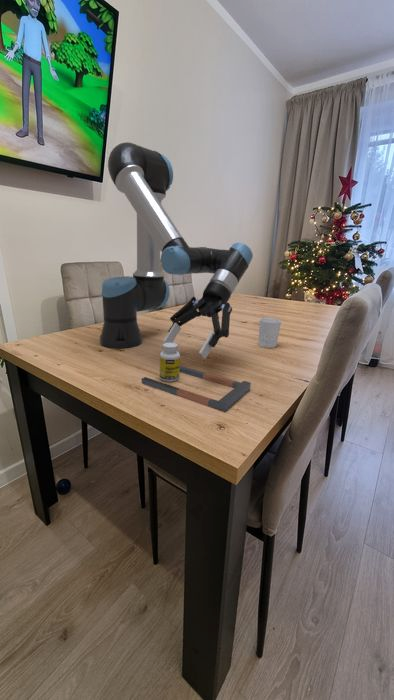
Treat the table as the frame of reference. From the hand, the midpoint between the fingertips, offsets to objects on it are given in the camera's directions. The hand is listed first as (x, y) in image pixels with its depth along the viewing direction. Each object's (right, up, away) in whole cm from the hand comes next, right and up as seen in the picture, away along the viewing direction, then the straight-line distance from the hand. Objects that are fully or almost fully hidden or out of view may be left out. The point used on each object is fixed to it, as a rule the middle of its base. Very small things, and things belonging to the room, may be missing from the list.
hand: (183, 349), depth 83 cm
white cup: (+31, +1, +34) cm, 46 cm away
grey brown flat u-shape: (+3, -10, -3) cm, 11 cm away
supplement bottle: (-4, -8, +1) cm, 9 cm away
